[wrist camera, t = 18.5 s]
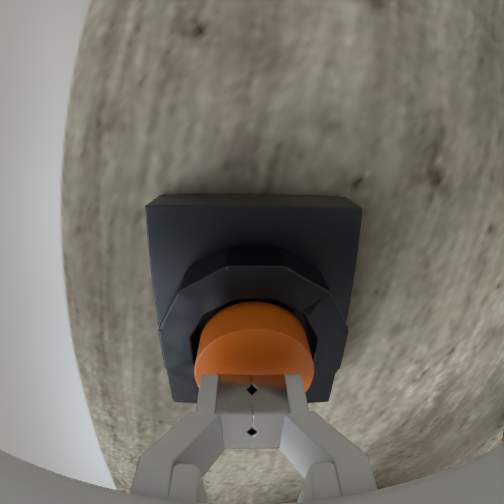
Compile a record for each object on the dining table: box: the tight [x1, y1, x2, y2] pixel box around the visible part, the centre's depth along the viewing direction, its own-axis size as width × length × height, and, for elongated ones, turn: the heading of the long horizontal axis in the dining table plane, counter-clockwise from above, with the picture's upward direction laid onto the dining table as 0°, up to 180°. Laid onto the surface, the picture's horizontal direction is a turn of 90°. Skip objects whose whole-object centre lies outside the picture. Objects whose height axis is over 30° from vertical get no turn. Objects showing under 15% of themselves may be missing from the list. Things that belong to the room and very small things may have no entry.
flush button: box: [194, 301, 314, 392], centre depth 11 cm, size 4×4×2 cm
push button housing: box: [145, 194, 362, 403], centre depth 13 cm, size 10×8×4 cm
